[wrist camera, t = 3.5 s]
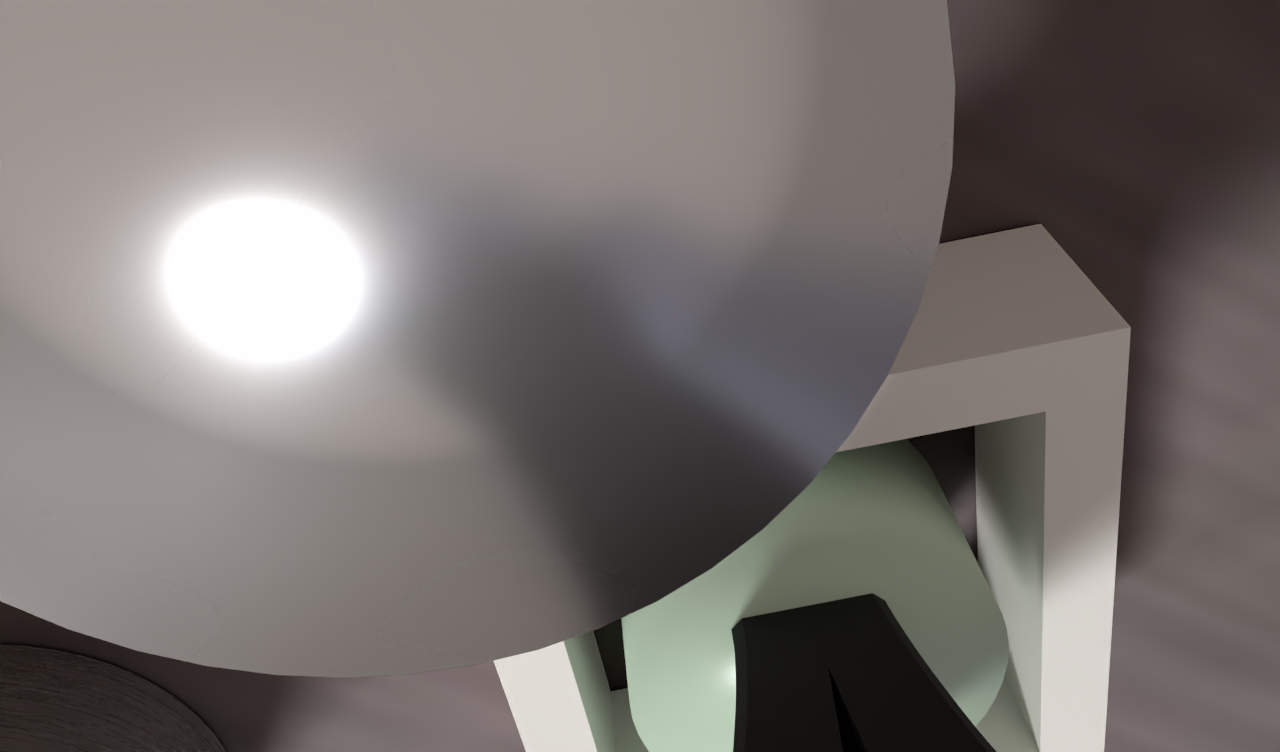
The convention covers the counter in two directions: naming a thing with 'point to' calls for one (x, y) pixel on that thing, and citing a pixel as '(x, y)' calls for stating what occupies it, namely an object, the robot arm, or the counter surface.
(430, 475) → the billet
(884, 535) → the button
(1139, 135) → the counter surface
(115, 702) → the cylinder
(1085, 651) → the button housing
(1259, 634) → the counter surface
